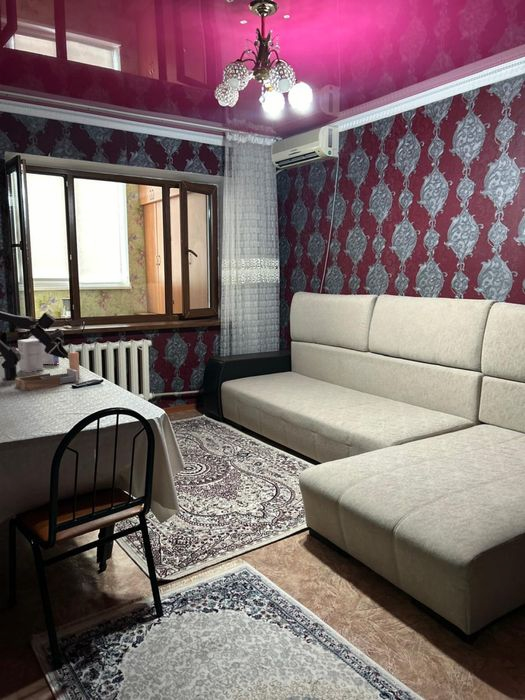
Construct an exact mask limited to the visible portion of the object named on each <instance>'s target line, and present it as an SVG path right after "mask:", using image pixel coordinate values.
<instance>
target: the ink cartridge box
mask: <svg viewBox="0 0 525 700" xmlns="http://www.w3.org/2000/svg"><path fill="white" fill-rule="evenodd" d="M41 345H42V358H43V364H53V365H52V366H55V365H54V364H57V363H59V364H60V361H59V358H60V357H57V356H54V355H51V354H49V353H50V352H49V353H48V354H47V353H46V352H45V350H44V349H45V348H46V346H45V345H44V344H42V343H41ZM57 365H58V364H57Z"/></svg>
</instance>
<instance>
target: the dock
mask: <svg viewBox="0 0 525 700" xmlns="http://www.w3.org/2000/svg"><path fill="white" fill-rule="evenodd" d="M50 375H51V372H50V373H49V372H48V373H41V374H35V375H28V376H21V377H20V378H15V379H14V383H15V385H14V386H15V388H18V389H21V390H22V389H23V390H22V391H24V392H27V390H28V391H33V389H35V390H40V389H39V388H41V389H46V387H47V388H51V386H53V387H59V386H61V384H62V383H61V380H60V377H55V378H48V379H42V380H40V377H44V376H50ZM58 385H59V386H58Z"/></svg>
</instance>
